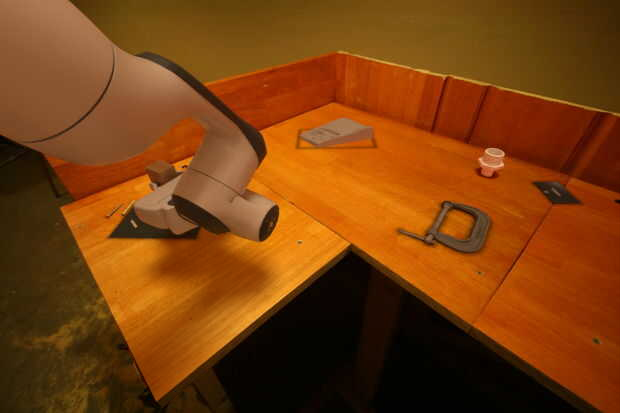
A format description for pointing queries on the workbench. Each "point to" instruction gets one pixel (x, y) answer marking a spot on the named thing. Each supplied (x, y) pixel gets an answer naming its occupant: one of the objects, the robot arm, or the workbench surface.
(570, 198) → the solid state drive
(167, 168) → the brown wooden block
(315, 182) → the workbench surface
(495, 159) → the pipe fitting
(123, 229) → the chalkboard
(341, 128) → the ramp
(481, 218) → the c clamp
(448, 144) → the workbench surface
